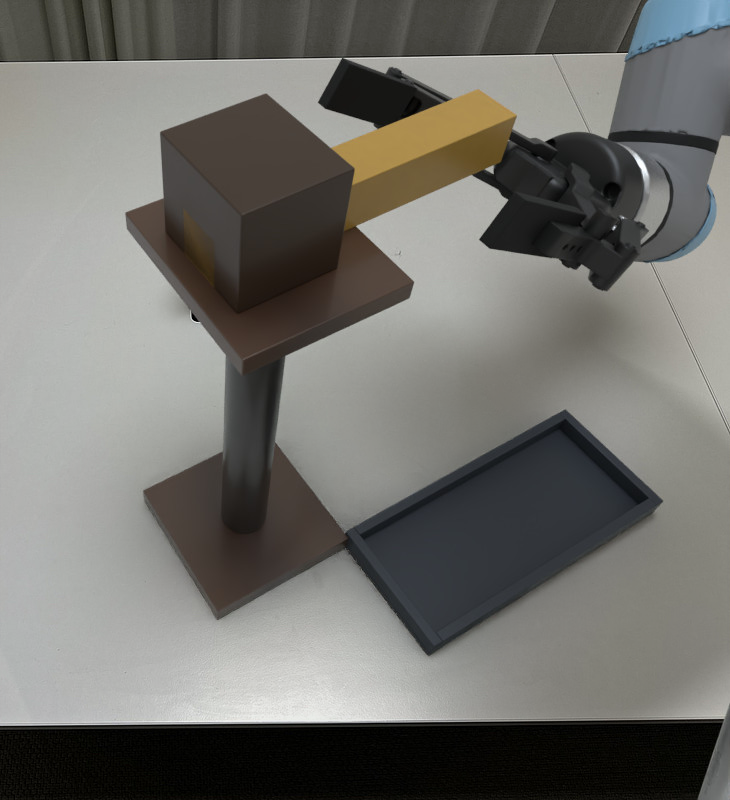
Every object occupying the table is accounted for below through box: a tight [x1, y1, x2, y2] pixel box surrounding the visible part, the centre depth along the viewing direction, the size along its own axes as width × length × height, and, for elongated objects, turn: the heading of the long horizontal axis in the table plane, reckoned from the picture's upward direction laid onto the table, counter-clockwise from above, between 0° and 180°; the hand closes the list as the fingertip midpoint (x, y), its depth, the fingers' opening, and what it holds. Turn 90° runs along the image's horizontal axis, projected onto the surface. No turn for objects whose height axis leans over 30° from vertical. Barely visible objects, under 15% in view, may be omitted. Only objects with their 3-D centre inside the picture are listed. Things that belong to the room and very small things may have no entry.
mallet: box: [159, 88, 518, 313], centre depth 40 cm, size 19×7×6 cm, turn 121°
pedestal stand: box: [124, 197, 415, 620], centre depth 53 cm, size 12×12×30 cm
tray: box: [344, 409, 664, 657], centre depth 63 cm, size 24×11×2 cm, turn 120°
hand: (409, 145), depth 41 cm, fingers open, 13 cm apart
